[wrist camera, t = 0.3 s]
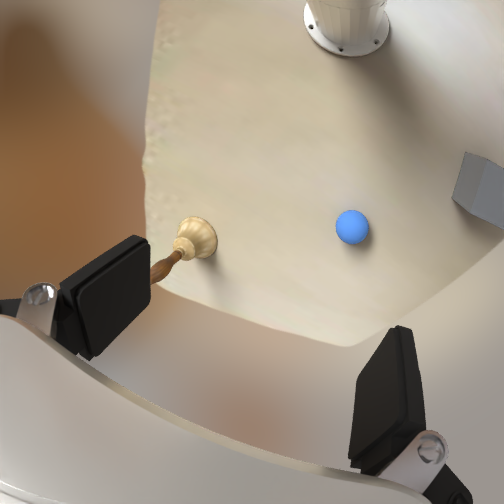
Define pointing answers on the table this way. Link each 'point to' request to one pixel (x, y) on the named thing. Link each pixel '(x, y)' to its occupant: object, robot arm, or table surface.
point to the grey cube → (481, 189)
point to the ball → (352, 227)
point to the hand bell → (187, 246)
